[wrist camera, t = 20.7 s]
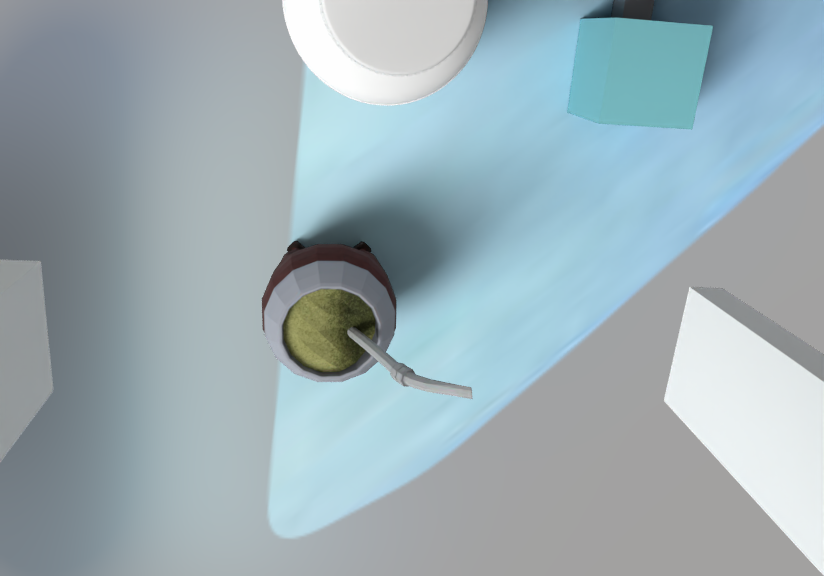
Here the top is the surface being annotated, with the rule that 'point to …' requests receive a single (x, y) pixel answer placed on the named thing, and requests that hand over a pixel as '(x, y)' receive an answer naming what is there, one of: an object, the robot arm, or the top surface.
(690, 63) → the teal and grey bar
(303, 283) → the mate gourd
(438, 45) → the pill bottle
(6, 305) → the robot arm
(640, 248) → the top surface
